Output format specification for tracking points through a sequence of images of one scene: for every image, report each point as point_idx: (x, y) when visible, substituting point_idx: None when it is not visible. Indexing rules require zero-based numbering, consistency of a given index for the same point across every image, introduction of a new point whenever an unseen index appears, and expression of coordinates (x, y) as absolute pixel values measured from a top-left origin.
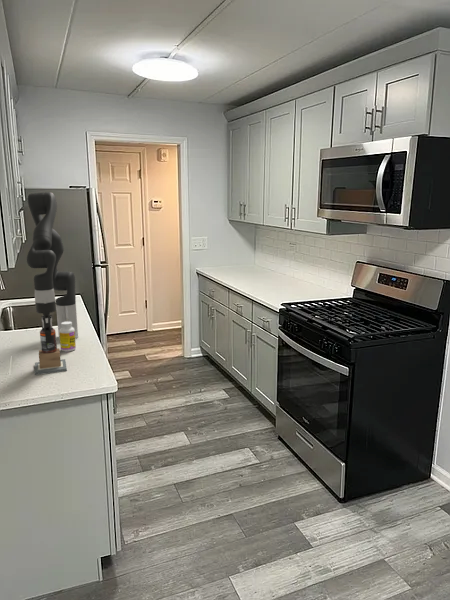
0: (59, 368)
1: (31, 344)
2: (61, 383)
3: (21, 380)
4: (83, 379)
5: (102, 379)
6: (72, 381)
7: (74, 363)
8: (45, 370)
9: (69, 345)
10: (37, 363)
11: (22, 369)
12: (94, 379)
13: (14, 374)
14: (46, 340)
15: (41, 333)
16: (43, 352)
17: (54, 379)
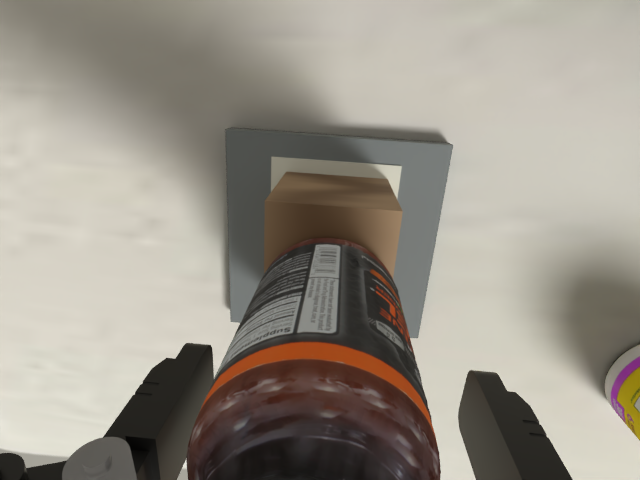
0: (247, 286)
1: None
2: (40, 263)
3: (145, 28)
4: (77, 364)
5: (60, 430)
6: (59, 316)
7: None
8: (239, 203)
9: (631, 411)
10: (421, 162)
11: (389, 41)
12: (67, 404)
13: None
14: (179, 361)
15: (239, 381)
16: (290, 247)
17: (111, 236)
